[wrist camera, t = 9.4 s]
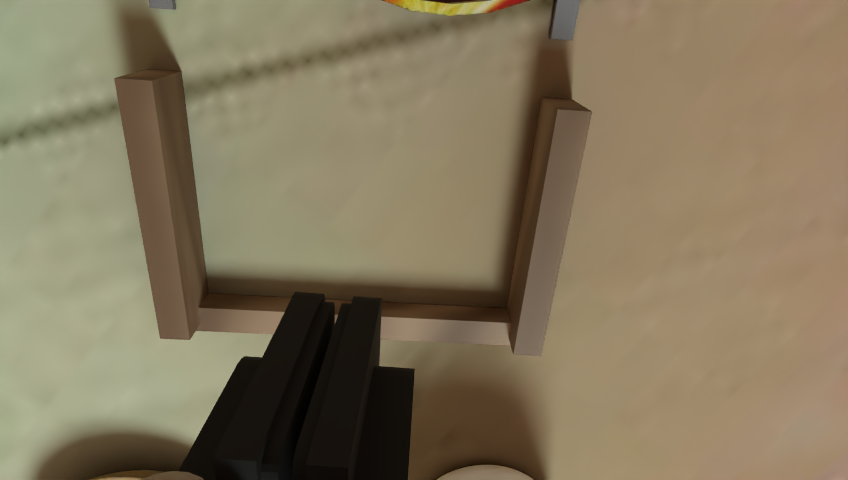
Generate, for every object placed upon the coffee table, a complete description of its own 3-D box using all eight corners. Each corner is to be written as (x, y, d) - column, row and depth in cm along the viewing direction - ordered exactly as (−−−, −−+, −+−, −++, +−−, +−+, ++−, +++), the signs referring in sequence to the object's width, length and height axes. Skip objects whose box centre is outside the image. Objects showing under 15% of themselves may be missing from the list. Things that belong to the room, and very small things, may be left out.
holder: (572, 99, 25) (592, 111, 22) (527, 331, 30) (539, 363, 28) (148, 69, 24) (114, 78, 21) (184, 314, 29) (161, 346, 27)
